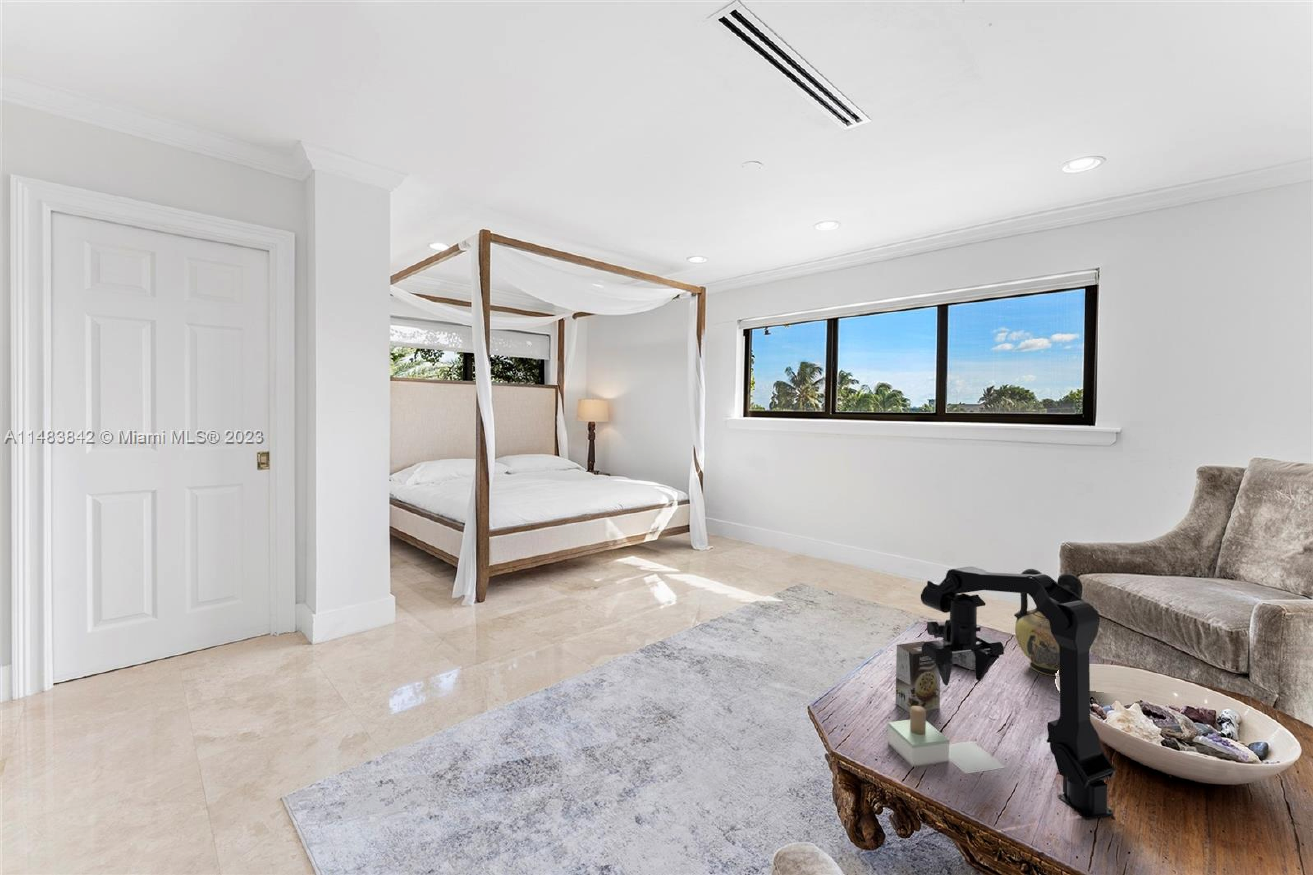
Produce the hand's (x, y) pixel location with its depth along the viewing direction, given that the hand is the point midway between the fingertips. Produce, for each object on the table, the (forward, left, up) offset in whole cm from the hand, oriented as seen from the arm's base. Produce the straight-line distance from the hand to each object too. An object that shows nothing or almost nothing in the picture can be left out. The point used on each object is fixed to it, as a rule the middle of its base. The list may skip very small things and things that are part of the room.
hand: (962, 682), depth 137 cm
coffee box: (+12, +3, -12) cm, 18 cm away
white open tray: (-6, +16, -12) cm, 21 cm away
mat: (-10, +6, -12) cm, 17 cm away
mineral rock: (+32, -25, -12) cm, 43 cm away
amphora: (+22, -48, -12) cm, 54 cm away
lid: (-6, +16, -8) cm, 19 cm away
